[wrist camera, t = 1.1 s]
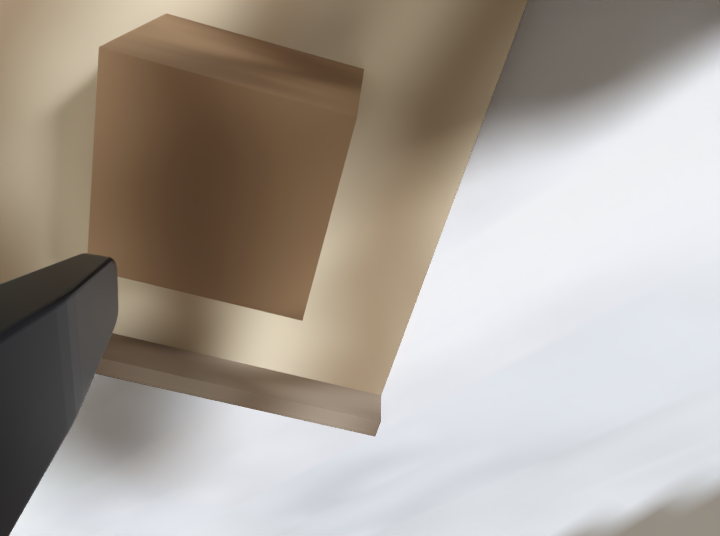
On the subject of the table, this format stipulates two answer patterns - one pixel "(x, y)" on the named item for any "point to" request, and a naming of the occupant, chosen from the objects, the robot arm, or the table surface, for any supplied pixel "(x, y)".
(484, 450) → the table surface
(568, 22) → the table surface
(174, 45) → the walnut block
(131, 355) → the trap board
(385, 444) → the table surface
